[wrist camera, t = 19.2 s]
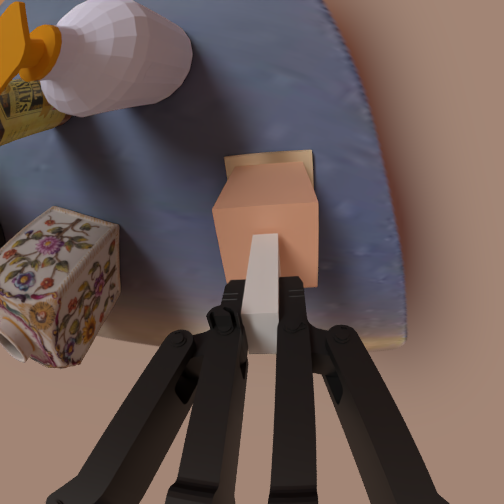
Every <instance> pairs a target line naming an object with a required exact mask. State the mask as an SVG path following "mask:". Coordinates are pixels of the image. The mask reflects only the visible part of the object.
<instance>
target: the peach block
mask: <svg viewBox="0 0 504 504" xmlns="http://www.w3.org/2000/svg"><path fill="white" fill-rule="evenodd" d="M212 212H213V218H214V223H215V228H216V233H217V238H218V243H219V248H220V252H221V257H222V262H223V267H224V272H225V276H226V281H227V284H228V282H229V281H230V280H241V279H246V276H247V269H248V263H249V256H250V249H251V243H252V236H253V235H257V234H273V233H278V241H279V255H280V269H281V277H290V276H299V278H300V279H301V280H302V281H303V287H304V288H306V287H317V283H318V233H319V220H318V200H317V197H316V195H315V192H314V189H313V187H312V184H311V182H310V179H309V176H308V174H307V171H306V169H305V166H304V164H303V162H286V163H271V164H259V165H248V166H237V167H235V168H234V169H233V171H232V173H231V175H230V177H229V179H228V180H227V182H226V184H225V186H224V188H223V190H222V192H221V193H220V195H219V197H218V199H217V201H216V203H215V205H214V207H213V209H212Z"/></svg>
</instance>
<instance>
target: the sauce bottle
mask: <svg viewBox="0 0 504 504" xmlns="http://www.w3.org/2000/svg"><path fill="white" fill-rule="evenodd" d="M71 116H72V115H69V114H65V113H62V112H60V111H58V110H57V109H56V108H54V107H53V106H52V105H51V104H49V103H48V101H47V99H46V97H45V95H44V93H43V91H42V89H41V83H40V81H30V82H26V81H24V80H23V79H17V80H11V81H10V83H9V84H8V85H7V87H6V88H5V89H4V91H3V92H2V93H1V95H0V146H2V145H4V144H7V143H9V142H12V141H15V140H17V139H20V138H23V137H26V136H29V135H32V134H35V133H39V132H42V131H45V130H49V129H52V128H54V127H56V126H60V125H62V124H64V123H65V122H66V121H68V120H69V119H70V118H71Z"/></svg>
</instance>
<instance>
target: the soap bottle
mask: <svg viewBox="0 0 504 504" xmlns="http://www.w3.org/2000/svg"><path fill="white" fill-rule="evenodd" d="M192 56H193V53H192V47H191V42H190V39H189V38H188V36H187V35H186V33H185V32H184V30H183V29H182V28H181V27H179V26H177V25H176V24H174V23H172V22H171V21H169V20H168V19H166V18H164V17H162V16H161V15H159V14H157V13H155V12H154V11H152V10H150V9H148V8H146V7H144V6H143V5H141V4H139V3H137V2H135V1H132V0H88V1H86V2H83V3H81V4H79V5H77V6H76V7H74V8H73V9H72V10H71V11H70V12H68V13H67V14H66V15H65V16H64V17H63V18H61V20H60V21H59V22H58V24H57V25H42V26H39V27H37V28H36V29H34V30H33V31H32V32H31V33H30V34H29V29H28V23H27V16H26V9H25V3H23V2H16V1H15V2H14V3H12V4H10V6H9V7H8V8H7V9H6V10H5V12H4V13H3V14H2V15H1V17H0V95H1V93H2V92H3V91H4V89H5V88H6V87H7V85H8V84H9V83H10V81H11V80H12V79H13V78H14V77H15V76H16V75H17V74H18V73H19V75H20V77H21V79H23V80H24V81H26V82H30V81H40V83H41V89H42V91H43V93H44V95H45V97H46V99H47V101H48V103H49V104H51V105H52V106H53V107H54V108H56V109H57V110H58V111H60V112H62V113H65V114H69V115H74V116H79V117H86V116H90V115H94V114H98V113H103V112H108V111H113V110H118V109H123V108H129V107H135V106H141V105H148V104H155V103H157V102H159V101H161V100H163V99H165V98H167V97H169V96H170V95H171V94H172V93H173V92H174V91H175V90H176V89H178V88H179V87H180V86H181V85H182V83H183V81H184V79H185V78H186V76H187V74H188V72H189V71H190V66H191V61H192Z"/></svg>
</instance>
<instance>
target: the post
mask: <svg viewBox="0 0 504 504" xmlns="http://www.w3.org/2000/svg"><path fill="white" fill-rule="evenodd" d="M224 160H225V167H226V173H227V180H228V179H229V177H230V175H231V173H232V171H233V169H234V168H235V167H237V166H248V165H259V164H271V163H286V162H303V164H304V166H305V169H306V171H307V174H308V176H309V179H310V182H311V184H312V187H313V189H314V185H313V161H312V150H295V151H278V152H265V153H253V154H243V155H234V156H225V157H224Z"/></svg>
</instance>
